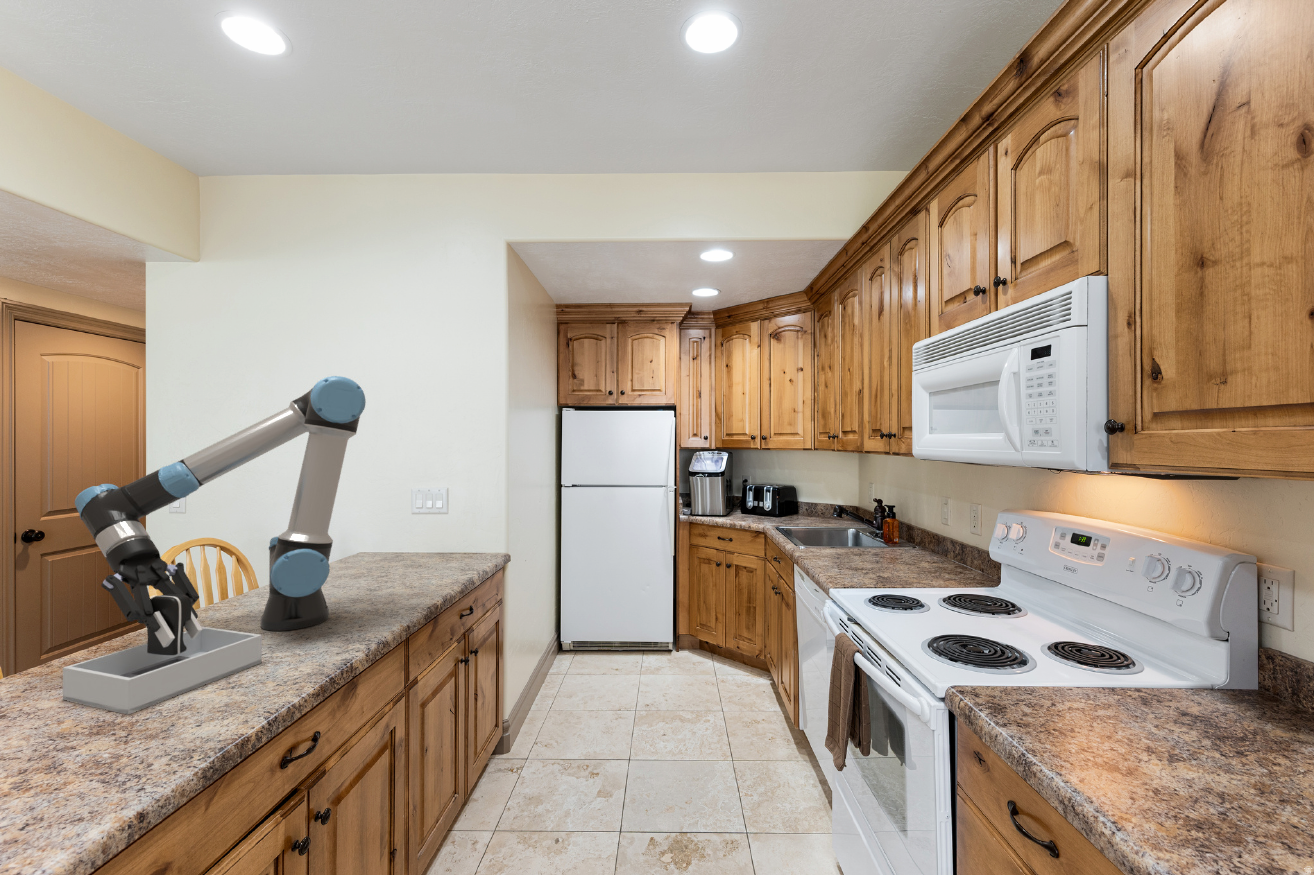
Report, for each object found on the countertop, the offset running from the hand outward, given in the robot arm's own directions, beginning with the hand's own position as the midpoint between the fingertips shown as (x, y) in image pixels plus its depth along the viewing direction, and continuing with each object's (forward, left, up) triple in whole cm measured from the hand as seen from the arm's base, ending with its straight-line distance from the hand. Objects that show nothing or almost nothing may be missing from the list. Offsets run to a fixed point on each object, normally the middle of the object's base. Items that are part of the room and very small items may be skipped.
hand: (183, 638), depth 111 cm
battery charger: (0, -4, -3) cm, 5 cm away
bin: (0, -4, -9) cm, 10 cm away
